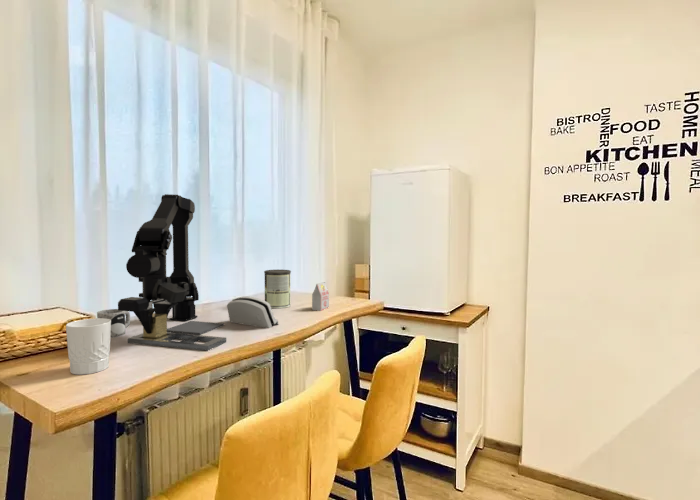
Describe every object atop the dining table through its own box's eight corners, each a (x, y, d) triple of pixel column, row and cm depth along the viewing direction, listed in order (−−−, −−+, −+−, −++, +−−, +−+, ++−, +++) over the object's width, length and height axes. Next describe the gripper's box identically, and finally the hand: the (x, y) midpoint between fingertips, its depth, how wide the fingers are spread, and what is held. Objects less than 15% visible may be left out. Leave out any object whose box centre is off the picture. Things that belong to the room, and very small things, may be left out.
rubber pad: (164, 331, 113) (164, 329, 113) (191, 322, 124) (191, 320, 124) (199, 335, 110) (199, 332, 110) (224, 325, 121) (224, 323, 121)
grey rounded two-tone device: (280, 324, 123) (273, 296, 119) (270, 333, 119) (263, 304, 116) (240, 318, 131) (233, 292, 127) (230, 326, 127) (222, 299, 123)
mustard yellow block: (143, 340, 103) (143, 316, 102) (154, 336, 106) (154, 313, 106) (156, 341, 102) (155, 317, 101) (166, 337, 105) (166, 314, 105)
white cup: (81, 363, 86) (80, 318, 85) (119, 362, 86) (118, 318, 86) (57, 376, 78) (56, 327, 77) (99, 375, 78) (98, 326, 78)
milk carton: (312, 310, 147) (312, 283, 146) (320, 307, 153) (320, 281, 152) (320, 311, 145) (320, 284, 145) (328, 307, 151) (329, 282, 151)
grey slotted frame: (127, 342, 101) (127, 338, 101) (151, 335, 109) (150, 330, 109) (207, 350, 95) (207, 346, 95) (226, 342, 103) (226, 337, 103)
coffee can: (259, 305, 154) (259, 270, 153) (281, 302, 161) (281, 268, 160) (273, 309, 146) (273, 272, 146) (295, 306, 154) (296, 270, 153)
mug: (112, 338, 106) (111, 314, 105) (91, 337, 107) (91, 313, 107) (139, 329, 115) (138, 307, 115) (119, 328, 117) (119, 306, 116)
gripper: (153, 278, 92) (154, 343, 93) (202, 271, 110) (203, 325, 111) (115, 276, 95) (116, 339, 96) (169, 269, 113) (170, 323, 114)
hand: (155, 331), depth 104 cm, fingers closed on mustard yellow block, 4 cm apart
